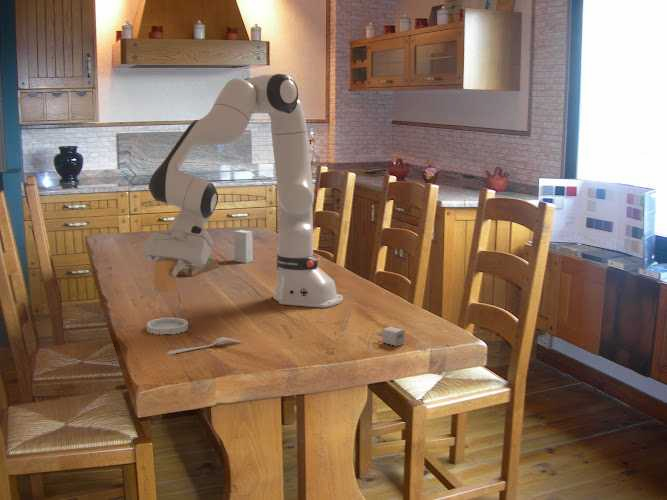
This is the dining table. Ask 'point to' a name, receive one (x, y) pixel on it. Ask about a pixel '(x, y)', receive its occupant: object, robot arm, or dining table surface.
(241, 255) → the skincare box
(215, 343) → the fork
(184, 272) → the frame
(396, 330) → the usb wall charger
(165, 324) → the ring dish
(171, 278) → the wooden toy brick
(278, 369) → the dining table surface
